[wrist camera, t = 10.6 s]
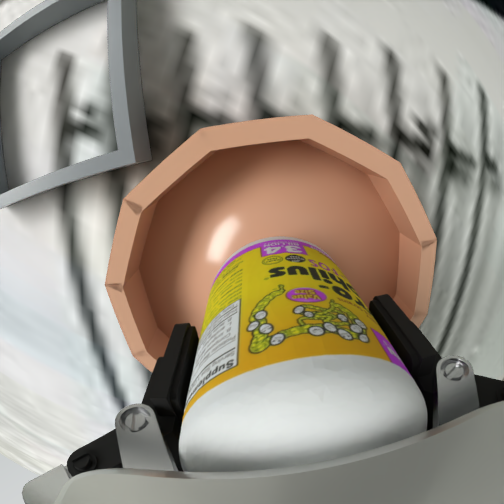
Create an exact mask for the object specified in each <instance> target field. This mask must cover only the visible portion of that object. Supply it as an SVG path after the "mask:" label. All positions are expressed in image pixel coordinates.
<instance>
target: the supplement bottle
mask: <svg viewBox="0 0 504 504" xmlns="http://www.w3.org/2000/svg"><path fill="white" fill-rule="evenodd" d="M426 430H427V408H426V404H425V400H424V398H423V395H422V393H421V391H420V389H419V388H418V386H417V384H416V383H415V381H414V379H413V378H412V376H411V374H410V373H409V371H408V370H407V368H406V367H405V365H404V363H403V362H402V360H401V359H400V357H399V356H398V354H397V353H396V351H395V350H394V348H393V346H392V345H391V343H390V342H389V340H388V338H387V337H386V335H385V334H384V332H383V331H382V329H381V328H380V326H379V325H378V323H377V322H376V320H375V319H374V317H373V315H372V314H371V312H370V311H369V310H368V308H367V307H366V305H365V304H364V302H363V301H362V300H361V298H360V297H359V295H358V294H357V292H356V291H355V289H354V288H353V287H352V285H351V284H350V282H349V281H348V279H347V278H346V277H345V275H344V274H343V273H342V271H341V270H340V268H339V267H338V266H337V264H336V263H335V262H334V261H333V259H332V258H331V257H330V256H329V255H328V254H327V253H326V252H324V251H323V250H322V249H321V248H319V247H318V246H316V245H314V244H312V243H310V242H308V241H305V240H302V239H298V238H294V237H285V236H276V237H268V238H263V239H259V240H256V241H254V242H251V243H249V244H247V245H245V246H243V247H242V248H240V249H239V250H237V251H236V252H235V253H233V254H232V255H231V256H230V257H229V258H228V259H227V260H226V261H225V262H224V264H223V265H222V266H221V268H220V270H219V271H218V273H217V275H216V277H215V279H214V282H213V285H212V287H211V291H210V295H209V299H208V303H207V307H206V311H205V316H204V320H203V325H202V329H201V334H200V339H199V343H198V348H197V353H196V357H195V362H194V367H193V372H192V377H191V381H190V386H189V391H188V396H187V400H186V405H185V409H184V415H183V420H182V426H181V433H180V439H179V457H180V462H181V466H182V469H183V471H184V472H236V471H253V470H265V469H275V468H283V467H291V466H298V465H305V464H311V463H316V462H322V461H327V460H332V459H336V458H341V457H345V456H349V455H354V454H357V453H361V452H365V451H369V450H372V449H376V448H379V447H383V446H386V445H389V444H392V443H395V442H398V441H401V440H404V439H407V438H410V437H412V436H415V435H418V434H420V433H423V432H425V431H426Z"/></svg>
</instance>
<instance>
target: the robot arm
mask: <svg viewBox="0 0 504 504" xmlns="http://www.w3.org/2000/svg"><path fill="white" fill-rule="evenodd" d="M369 311H370V312H371V314H372V315H373V317H374V319H375V320H376V322H377V323H378V325H379V326H380V328H381V329H382V331H383V332H384V334H385V335H386V337H387V338H388V340H389V342H390V343H391V345H392V346H393V348H394V350H395V351H396V353H397V354H398V356H399V357H400V359H401V360H402V362H403V363H404V365H405V367H406V368H407V370H408V371H409V373H410V374H411V376H412V378H413V379H414V381H415V383H416V384H417V386H418V388H419V389H420V391H421V393H422V395H423V398H424V400H425V404H426V408H427V430H426V431H425V432H423V433H420V434H418V435H415V436H412V437H410V438H407V439H404V440H401V441H398V442H395V443H392V444H389V445H386V446H383V447H379V448H376V449H372V450H369V451H365V452H361V453H357V454H354V455H349V456H345V457H341V458H336V459H332V460H327V461H322V462H316V463H311V464H305V465H298V466H291V467H283V468H275V469H265V470H253V471H236V472H184V471H183V469H182V466H181V462H180V457H179V439H180V433H181V426H182V420H183V415H184V409H185V405H186V400H187V396H188V391H189V386H190V381H191V377H192V372H193V367H194V362H195V357H196V353H197V348H198V343H199V337H198V333H197V330H196V327H195V326H191V325H190V323H181V324H175V325H174V328H173V331H172V334H171V336H170V339H169V342H168V345H167V348H166V350H165V353H164V356H163V357H159V358H158V359H157V362H156V364H155V367H154V370H153V373H152V375H151V378H150V381H149V384H148V387H147V389H146V392H145V395H144V398H143V401H142V404H132V405H129V406H127V407H125V408H123V409H122V410H121V411H120V412H119V413H118V414H117V416H116V419H115V428H116V429H114V430H113V431H111V432H109V433H107V434H105V435H104V436H102V437H100V438H98V439H96V440H95V441H93V442H91V443H89V444H87V445H85V446H83V447H81V448H79V449H77V450H76V451H74V452H73V453H72V454H71V455H70V457H69V459H68V461H67V466H65V467H64V466H63V465H62V464H61V465H60V466H58V467H56V468H54V469H52V470H50V471H48V472H47V473H45V474H43V475H41V476H39V477H37V478H35V479H33V480H31V481H29V482H28V483H27V484H25V486H24V488H23V491H22V495H23V499H24V502H25V504H504V381H501V380H496V379H492V378H487V377H483V376H479V375H475V374H474V372H473V368H472V365H471V364H470V363H469V361H468V360H466V359H465V358H463V357H460V356H454V355H452V356H446V357H444V358H441V357H440V355H439V354H438V353H437V351H436V350H435V349H434V348H433V346H432V345H431V344H430V342H429V341H428V340H427V339H426V337H425V336H424V335H423V334H422V332H421V331H420V330H419V329H418V327H417V326H416V325H415V324H414V323H413V322H412V321H410V319H409V318H408V317H407V316H406V314H405V313H404V312H403V311H402V310H401V309H400V307H399V306H398V305H397V304H396V303H395V301H394V300H393V299H392V298H391V297H390V296H389V295H388V294H384V295H379V296H375V297H374V298H373V300H372V301H370V303H369Z"/></svg>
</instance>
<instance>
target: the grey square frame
mask: <svg viewBox="0 0 504 504" xmlns="http://www.w3.org/2000/svg"><path fill="white" fill-rule="evenodd" d="M102 1H104V0H45V1H43V2H42V3H40V4H38V5H37V6H35V7H34V8H32V9H31V10H29V11H28V12H26V13H25V14H23V15H22V16H21V17H19V18H18V19H16V20H15V21H14V22H12V23H11V24H10V25H8V26H7V27H6V28H4V29H3V30H2V31H1V32H0V76H1V61H2V59H3V58H5V57H6V56H7V55H9V54H10V53H11V52H13V51H14V50H16V49H17V48H18V47H20V46H21V45H23V44H24V43H26V42H27V41H29V40H30V39H32V38H33V37H35V36H37V35H38V34H40V33H41V32H43V31H45V30H46V29H48V28H50V27H52V26H53V25H55V24H57V23H59V22H61V21H62V20H64V19H66V18H68V17H70V16H72V15H74V14H76V13H78V12H80V11H82V10H84V9H86V8H88V7H91V6H93V5H95V4H97V3H100V2H102ZM107 34H108V61H109V77H110V89H111V99H112V109H113V117H114V125H115V133H116V140H117V146H118V151H114V152H111V153H107V154H104V155H101V156H98V157H95V158H92V159H88V160H85V161H82V162H80V163H77V164H74V165H71V166H68V167H65V168H63V169H60V170H57V171H55V172H52V173H49V174H47V175H44V176H42V177H39V178H37V179H34V180H32V181H30V182H27V183H25V184H23V185H20V186H18V187H16V188H14V189H12V190H9V189H8V183H7V177H6V171H5V164H4V156H3V147H2V136H1V120H0V209H2V208H4V207H7V206H9V205H12V204H14V203H17V202H19V201H22V200H24V199H27V198H29V197H32V196H34V195H37V194H40V193H43V192H45V191H48V190H51V189H54V188H57V187H60V186H63V185H65V184H69V183H72V182H75V181H78V180H81V179H84V178H87V177H91V176H94V175H97V174H101V173H104V172H108V171H112V170H115V169H119V168H123V167H126V166H130V165H134V164H138V163H142V162H147V161H151V160H152V156H151V150H150V144H149V137H148V130H147V123H146V116H145V108H144V100H143V92H142V83H141V73H140V62H139V49H138V34H137V12H136V0H108V8H107Z"/></svg>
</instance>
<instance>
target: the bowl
mask: <svg viewBox="0 0 504 504" xmlns="http://www.w3.org/2000/svg"><path fill="white" fill-rule="evenodd" d="M276 236H285V237H294V238H298V239H302V240H305V241H308V242H310V243H312V244H314V245H316V246H318V247H319V248H321V249H322V250H323V251H324V252H326V253H327V254H328V255H329V256H330V257H331V258H332V259H333V261H334V262H335V263H336V264H337V266H338V267H339V268H340V270H341V271H342V273H343V274H344V275H345V277H346V278H347V279H348V281H349V282H350V284H351V285H352V287H353V288H354V289H355V291H356V292H357V294H358V295H359V297H360V298H361V300H362V301H363V302H364V304H365V305H366V307H367V308H368V310H369V303H370V301H372V300H373V298H374V297H375V296H379V295H384V294H388V295H389V296H390V297H391V298H392V299H393V300H394V301H395V303H396V304H397V305H398V306H399V307H400V309H401V310H402V311H403V312H404V313H405V314H406V316H407V317H408V318H409V319H410V321H412V322H413V323H414V324H415V325H416V326H417V327H418V328H419V326H420V325H421V323H422V322H423V320H424V319H425V317H426V316H427V313H428V308H429V302H430V296H431V289H432V282H433V274H434V265H435V255H436V243H437V239H436V236H435V234H434V231H433V229H432V227H431V224H430V222H429V220H428V217H427V215H426V213H425V211H424V209H423V207H422V204H421V202H420V200H419V198H418V196H417V194H416V192H415V190H414V188H413V186H412V184H411V182H410V180H409V178H408V176H407V174H406V173H405V171H404V169H403V167H402V165H401V163H400V162H398V161H397V160H395V159H393V158H392V157H390V156H388V155H387V154H385V153H383V152H382V151H380V150H378V149H377V148H375V147H373V146H371V145H370V144H368V143H366V142H364V141H363V140H361V139H359V138H357V137H355V136H354V135H352V134H350V133H348V132H346V131H344V130H342V129H340V128H338V127H336V126H334V125H332V124H330V123H328V122H326V121H324V120H322V119H320V118H318V117H316V116H314V115H312V114H311V115H300V116H288V117H277V118H268V119H259V120H251V121H244V122H237V123H230V124H224V125H218V126H212V127H206V128H201V129H200V130H198V131H197V132H196V133H195V134H194V135H192V136H191V137H190V138H189V139H188V140H186V141H185V142H184V143H183V144H182V145H181V146H179V147H178V148H177V149H176V150H175V151H174V152H173V153H171V154H170V155H169V156H168V157H167V158H166V159H165V160H164V161H162V162H161V163H160V164H159V165H158V166H157V167H156V168H155V169H154V170H153V171H152V172H151V173H149V174H148V175H147V176H146V177H145V178H144V179H143V180H142V181H141V182H140V183H139V184H138V185H137V186H136V187H135V188H134V189H133V190H132V191H131V192H130V193H129V194H128V195H127V196H126V197H125V198H124V199H123V203H122V206H121V210H120V214H119V218H118V222H117V227H116V231H115V235H114V240H113V244H112V249H111V254H110V259H109V264H108V270H107V276H106V281H105V287H106V289H107V292H108V295H109V298H110V301H111V303H112V306H113V309H114V311H115V314H116V317H117V319H118V322H119V324H120V327H121V329H122V332H123V334H124V337H125V339H126V341H127V344H128V346H129V348H130V350H131V353H132V355H133V356H134V357H135V358H136V359H137V360H138V361H139V362H140V363H141V364H143V365H144V366H145V367H146V368H147V369H148V370H150V371H151V372H152V373H153V370H154V367H155V364H156V362H157V359H158V358H159V357H163V356H164V353H165V350H166V348H167V345H168V342H169V339H170V336H171V334H172V331H173V328H174V325H175V324H181V323H190V325H191V326H195V327H196V330H197V333H198V337H199V339H200V334H201V329H202V325H203V320H204V316H205V311H206V307H207V303H208V299H209V295H210V291H211V287H212V285H213V282H214V279H215V277H216V275H217V273H218V271H219V270H220V268H221V266H222V265H223V264H224V262H225V261H226V260H227V259H228V258H229V257H230V256H231V255H232V254H233V253H235V252H236V251H237V250H239V249H240V248H242V247H243V246H245V245H247V244H249V243H251V242H254V241H256V240H259V239H263V238H268V237H276Z"/></svg>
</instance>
